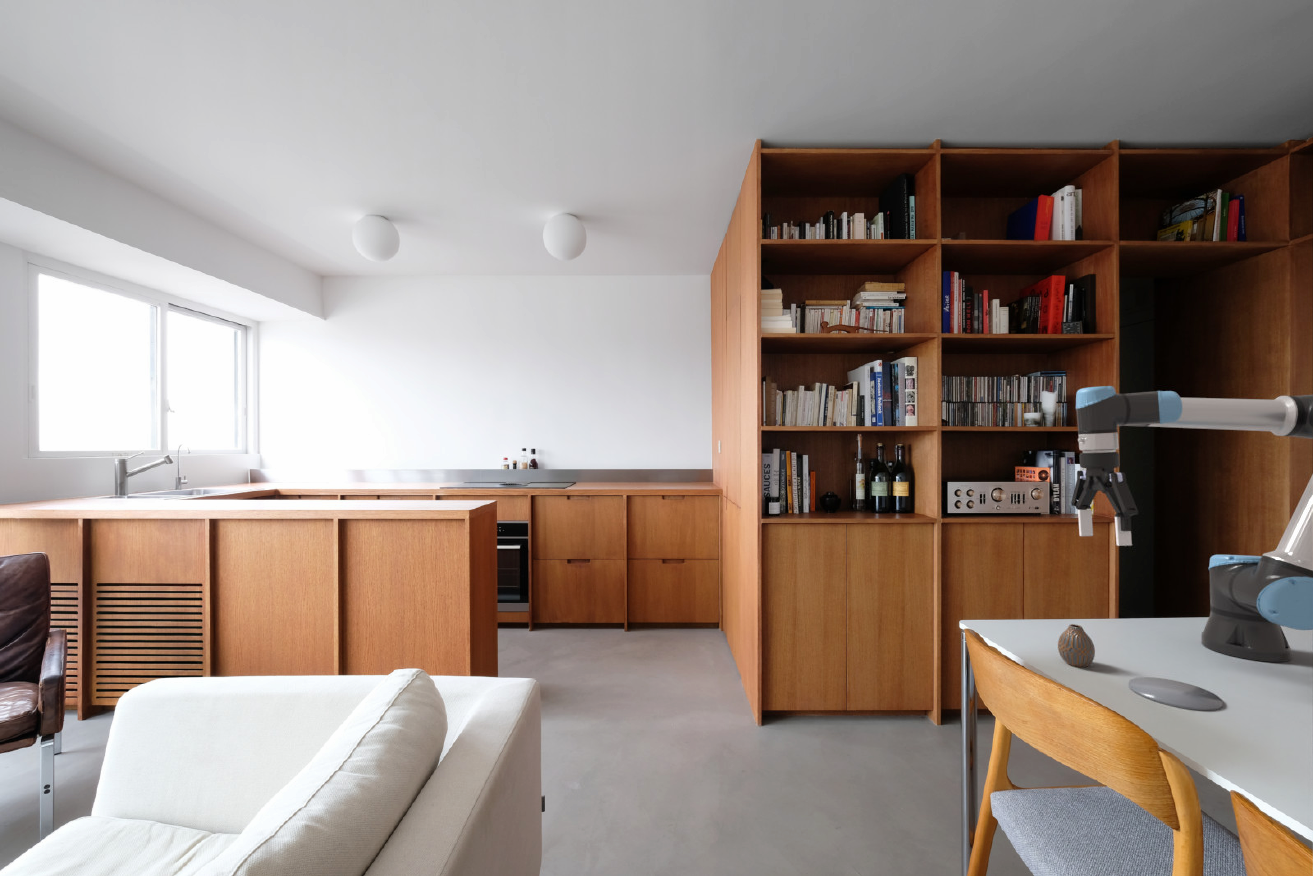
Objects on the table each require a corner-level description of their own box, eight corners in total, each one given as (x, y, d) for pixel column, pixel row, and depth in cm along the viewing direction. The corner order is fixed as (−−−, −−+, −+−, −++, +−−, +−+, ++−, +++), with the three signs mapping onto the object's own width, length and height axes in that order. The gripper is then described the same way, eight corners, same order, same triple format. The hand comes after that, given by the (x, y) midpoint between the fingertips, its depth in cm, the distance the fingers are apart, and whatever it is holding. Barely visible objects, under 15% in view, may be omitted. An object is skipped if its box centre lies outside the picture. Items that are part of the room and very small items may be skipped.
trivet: (1185, 681, 121) (1185, 678, 121) (1243, 712, 107) (1243, 709, 107) (1113, 678, 123) (1113, 675, 123) (1160, 708, 110) (1159, 705, 110)
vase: (1101, 670, 128) (1101, 631, 128) (1067, 668, 129) (1066, 630, 129) (1085, 659, 134) (1084, 621, 135) (1052, 657, 136) (1051, 620, 136)
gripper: (1052, 451, 149) (1057, 532, 149) (1117, 452, 125) (1123, 550, 124) (1083, 450, 148) (1088, 532, 148) (1154, 451, 124) (1161, 549, 123)
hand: (1104, 540), depth 136 cm, fingers open, 13 cm apart
